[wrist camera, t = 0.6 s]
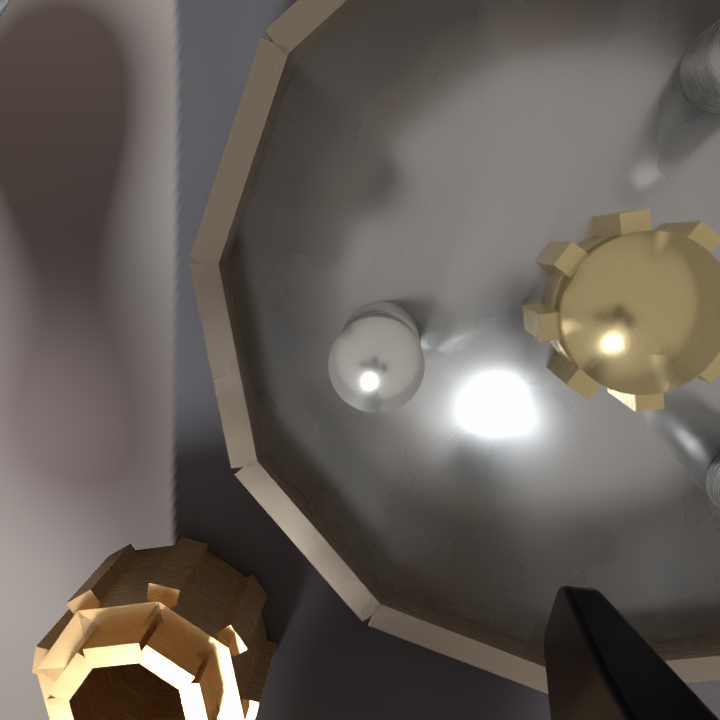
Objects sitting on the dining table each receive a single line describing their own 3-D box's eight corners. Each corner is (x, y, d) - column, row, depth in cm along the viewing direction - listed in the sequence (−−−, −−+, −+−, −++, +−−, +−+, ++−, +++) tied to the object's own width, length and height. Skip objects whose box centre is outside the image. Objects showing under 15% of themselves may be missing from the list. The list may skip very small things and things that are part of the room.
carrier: (1002, 603, 20) (1208, 728, 15) (292, 677, 22) (260, 810, 17) (1023, -221, 16) (1317, -436, 11) (148, -40, 18) (50, -151, 13)
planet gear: (291, 698, 22) (266, 807, 18) (110, 717, 23) (45, 825, 19) (255, 523, 21) (220, 595, 17) (66, 547, 22) (-14, 622, 17)
